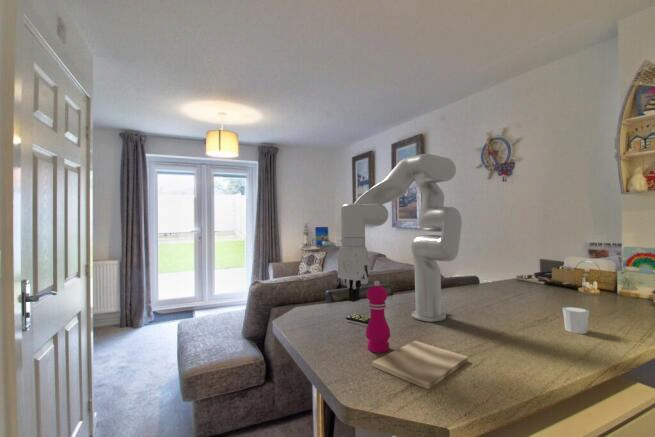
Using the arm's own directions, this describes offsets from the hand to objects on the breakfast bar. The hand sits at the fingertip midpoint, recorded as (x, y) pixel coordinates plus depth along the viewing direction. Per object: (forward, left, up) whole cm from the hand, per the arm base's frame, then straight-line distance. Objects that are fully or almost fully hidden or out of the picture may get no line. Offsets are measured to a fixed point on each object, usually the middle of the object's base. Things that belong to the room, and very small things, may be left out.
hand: (354, 300), depth 100 cm
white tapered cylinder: (-57, +46, -13) cm, 75 cm away
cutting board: (0, +23, -13) cm, 26 cm away
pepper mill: (0, +9, -13) cm, 16 cm away
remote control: (-15, -10, -13) cm, 22 cm away
